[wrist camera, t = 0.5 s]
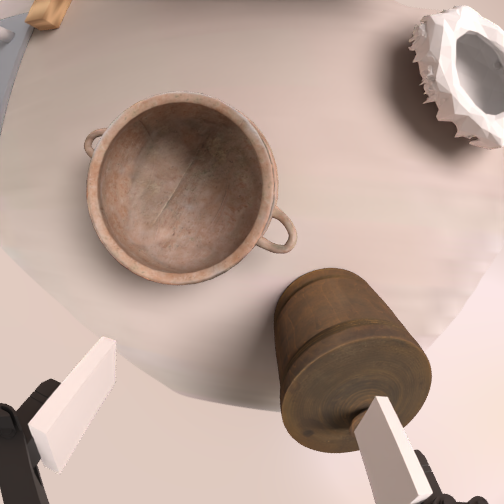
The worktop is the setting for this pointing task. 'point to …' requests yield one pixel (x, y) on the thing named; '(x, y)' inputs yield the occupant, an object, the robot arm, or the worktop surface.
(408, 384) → the wooden container
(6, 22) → the pintle base
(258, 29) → the worktop surface
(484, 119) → the bowl
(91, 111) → the worktop surface
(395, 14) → the worktop surface
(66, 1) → the link
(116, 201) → the cooking pot
